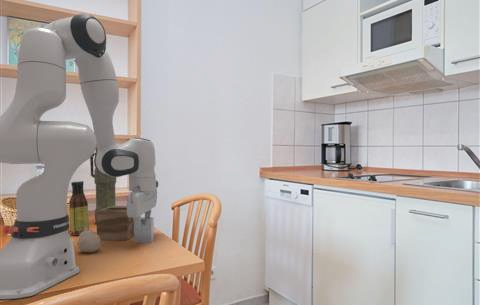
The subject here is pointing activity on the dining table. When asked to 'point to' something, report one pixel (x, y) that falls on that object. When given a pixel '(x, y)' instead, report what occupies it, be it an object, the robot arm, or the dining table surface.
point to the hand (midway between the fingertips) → (142, 225)
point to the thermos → (103, 189)
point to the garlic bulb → (88, 241)
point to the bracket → (145, 230)
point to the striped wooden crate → (114, 223)
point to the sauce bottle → (78, 209)
